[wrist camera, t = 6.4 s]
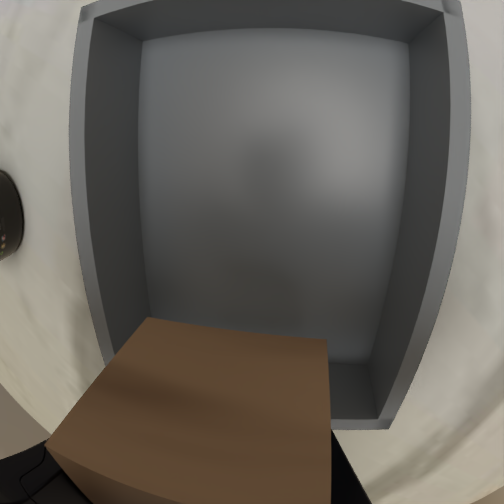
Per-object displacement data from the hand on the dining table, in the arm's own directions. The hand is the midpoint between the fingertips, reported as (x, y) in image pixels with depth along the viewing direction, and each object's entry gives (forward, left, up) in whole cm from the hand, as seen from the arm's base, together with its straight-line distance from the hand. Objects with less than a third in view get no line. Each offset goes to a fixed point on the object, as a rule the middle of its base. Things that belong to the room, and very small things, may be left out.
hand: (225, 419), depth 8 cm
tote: (+5, 0, -8) cm, 9 cm away
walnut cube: (0, 0, -1) cm, 1 cm away
